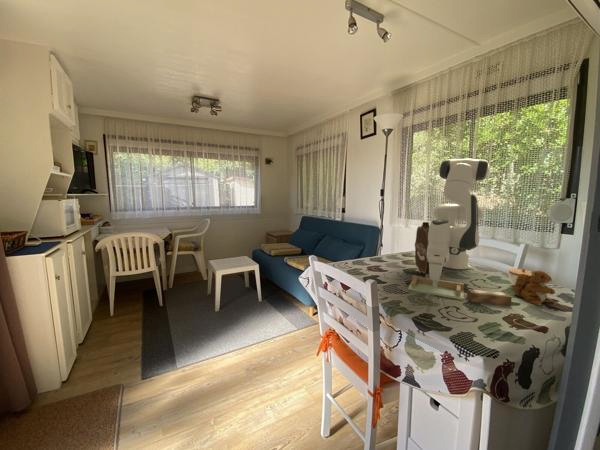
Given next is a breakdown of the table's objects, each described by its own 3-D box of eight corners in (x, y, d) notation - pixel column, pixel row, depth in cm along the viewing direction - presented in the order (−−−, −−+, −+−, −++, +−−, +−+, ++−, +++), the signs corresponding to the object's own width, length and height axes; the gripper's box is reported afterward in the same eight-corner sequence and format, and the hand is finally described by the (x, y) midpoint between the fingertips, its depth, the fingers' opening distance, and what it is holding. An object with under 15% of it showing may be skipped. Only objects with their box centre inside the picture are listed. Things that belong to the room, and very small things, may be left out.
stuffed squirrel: (540, 307, 100) (544, 275, 99) (504, 293, 114) (507, 265, 112) (558, 304, 103) (562, 273, 101) (520, 291, 116) (524, 264, 115)
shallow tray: (411, 282, 127) (412, 273, 127) (463, 291, 116) (464, 281, 115) (408, 289, 118) (408, 279, 118) (463, 300, 106) (464, 289, 106)
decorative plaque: (434, 285, 124) (438, 225, 120) (427, 285, 125) (431, 225, 121) (418, 268, 153) (421, 219, 149) (413, 267, 154) (415, 219, 150)
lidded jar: (528, 293, 115) (530, 273, 113) (502, 285, 124) (504, 266, 123) (541, 289, 118) (544, 270, 117) (515, 282, 128) (517, 264, 127)
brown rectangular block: (471, 302, 105) (471, 292, 105) (466, 297, 110) (467, 288, 110) (510, 306, 101) (511, 296, 101) (504, 301, 106) (505, 292, 106)
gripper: (432, 250, 124) (430, 277, 126) (427, 259, 107) (425, 290, 109) (446, 251, 121) (444, 279, 122) (444, 261, 104) (441, 293, 105)
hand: (435, 284), depth 115 cm, fingers open, 5 cm apart
